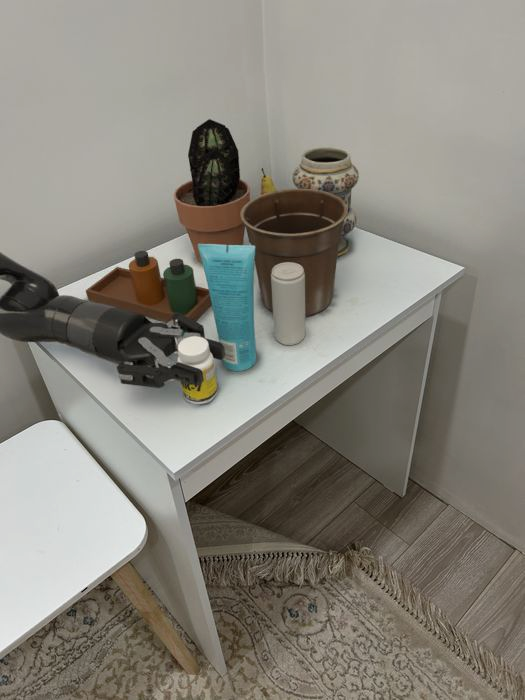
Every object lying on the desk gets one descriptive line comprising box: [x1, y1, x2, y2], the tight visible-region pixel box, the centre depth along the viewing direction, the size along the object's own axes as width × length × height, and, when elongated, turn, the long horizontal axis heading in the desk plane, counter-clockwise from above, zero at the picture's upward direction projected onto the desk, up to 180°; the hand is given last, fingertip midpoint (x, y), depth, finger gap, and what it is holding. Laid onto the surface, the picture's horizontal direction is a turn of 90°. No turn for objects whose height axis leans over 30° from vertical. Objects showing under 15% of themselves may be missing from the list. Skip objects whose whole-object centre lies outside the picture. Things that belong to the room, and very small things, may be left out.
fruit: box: [260, 167, 277, 195], centre depth 113 cm, size 6×6×12 cm
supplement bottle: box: [176, 336, 218, 405], centre depth 72 cm, size 5×5×8 cm
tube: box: [198, 244, 257, 372], centre depth 75 cm, size 7×5×19 cm, turn 85°
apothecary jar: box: [291, 146, 360, 258], centre depth 100 cm, size 12×12×18 cm
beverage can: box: [271, 262, 306, 346], centre depth 81 cm, size 5×5×12 cm
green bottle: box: [162, 258, 198, 315], centre depth 89 cm, size 5×5×9 cm
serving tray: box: [85, 266, 212, 324], centre depth 94 cm, size 21×9×2 cm, turn 63°
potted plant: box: [173, 118, 251, 265], centre depth 98 cm, size 14×14×25 cm
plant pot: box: [241, 188, 348, 317], centre depth 88 cm, size 16×16×16 cm
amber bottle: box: [128, 250, 165, 305], centre depth 92 cm, size 5×5×9 cm
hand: (212, 365), depth 70 cm, fingers closed on supplement bottle, 4 cm apart
